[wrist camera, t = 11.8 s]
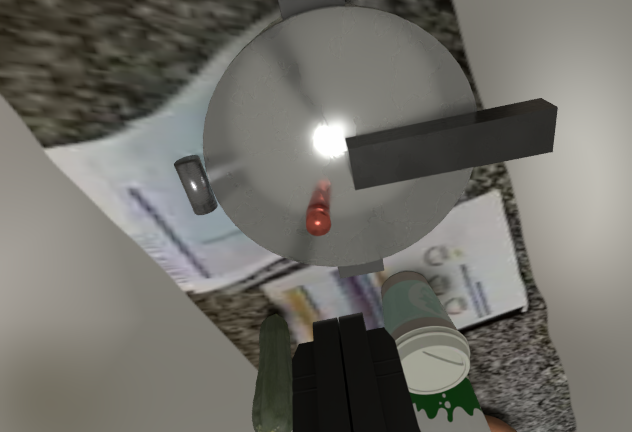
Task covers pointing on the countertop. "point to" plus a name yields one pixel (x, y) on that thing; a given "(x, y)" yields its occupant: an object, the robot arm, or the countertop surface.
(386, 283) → the coffee cup
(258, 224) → the cooker lid
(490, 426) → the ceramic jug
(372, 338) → the robot arm
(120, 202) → the countertop surface
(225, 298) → the countertop surface
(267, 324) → the vegetable
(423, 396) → the milk carton
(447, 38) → the countertop surface
